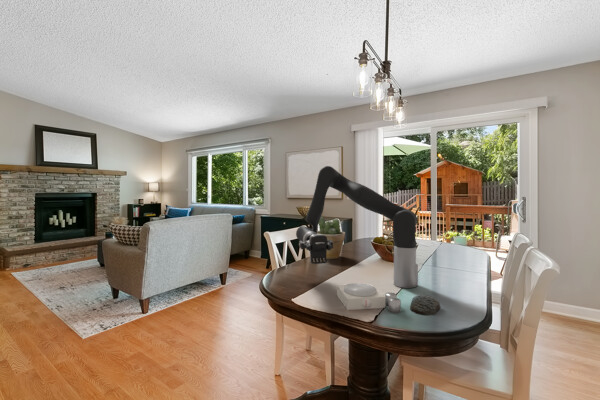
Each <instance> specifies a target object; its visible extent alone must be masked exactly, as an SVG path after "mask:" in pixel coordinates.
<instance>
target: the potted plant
mask: <svg viewBox="0 0 600 400" xmlns="http://www.w3.org/2000/svg"><path fill="white" fill-rule="evenodd" d="M340 224H341V223H340V219H338V218H334V219H332V220H325V219H324V217H323V216H321V218H320V221H319V224H318V228H319V230H317V234H323V235H325V236H326V237H327V240H331V241H332V242H333V248H332V249H330V250H327V253H326V258H327V260H333V259H334V260H335V259H339V258H340V255H341V251H342V248H343V244H344V240H345V237H346V232H345V231H341V226H340Z"/></svg>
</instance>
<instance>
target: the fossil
mask: <svg viewBox="0 0 600 400" xmlns="http://www.w3.org/2000/svg"><path fill="white" fill-rule="evenodd" d="M409 307H410V308H409V309H410V311H411V312H412V313H414V314H417V315H422V316H434V315H436V313H437V312H438V311H439V310H440V309H441V303H440V302H439V300H438V299H436V298H434V297H433V296H429V295H427V294H418V295H415V296H413V298H412V300H411V303H410V306H409Z"/></svg>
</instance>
